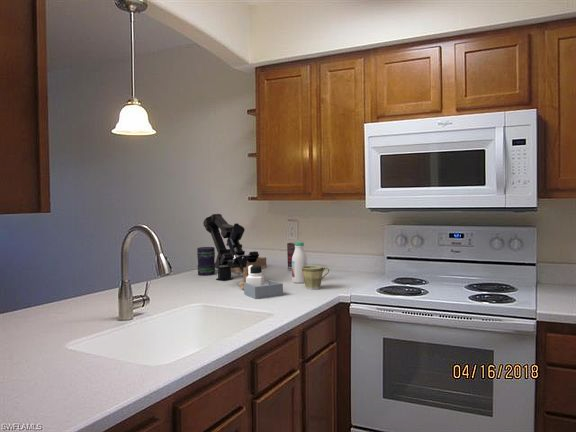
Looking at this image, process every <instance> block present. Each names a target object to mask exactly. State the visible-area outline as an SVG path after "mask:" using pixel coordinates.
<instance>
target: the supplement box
mask: <svg viewBox="0 0 576 432" xmlns="http://www.w3.org/2000/svg"><path fill="white" fill-rule="evenodd" d="M286 246H287V249H286V251H287V271H292V256H293V254H294V251H295V242H288V243H287V244H286Z"/></svg>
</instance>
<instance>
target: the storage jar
mask: <svg viewBox="0 0 576 432" xmlns="http://www.w3.org/2000/svg"><path fill="white" fill-rule="evenodd" d="M215 249H216V246H215V247H213V246H201V247H197V250H196V251H197V253H196V255H197V257H196V258H197V276H199V277H207V276H215V275H216V268H215V262H216V259H215V257H216V252H215Z"/></svg>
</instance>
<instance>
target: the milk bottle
mask: <svg viewBox="0 0 576 432" xmlns="http://www.w3.org/2000/svg"><path fill="white" fill-rule="evenodd" d="M294 243H295V251H294V254H293V256H292V270H291V281H292V283H294V284H305V281H304V276H303V272H302V267H303V266H308V258H307V254H306V253H305V249H304V246H305V243H304V242H303V241H296V242H295V241H294Z"/></svg>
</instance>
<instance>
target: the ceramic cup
mask: <svg viewBox="0 0 576 432" xmlns="http://www.w3.org/2000/svg"><path fill="white" fill-rule="evenodd" d="M325 270H327V272H326V273H325V274H324V275H323V272H324V271H325ZM302 272H303V276H304V281H305V283H304V285H305V289H306V290H310V291H311V290H312V291H314V290H319V289H321V285H322V280H323V279H324V278H325V277H326V276H327V275H328V274H329V272H330V268H328V267H324V266H322V265H307V266H303V267H302Z"/></svg>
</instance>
